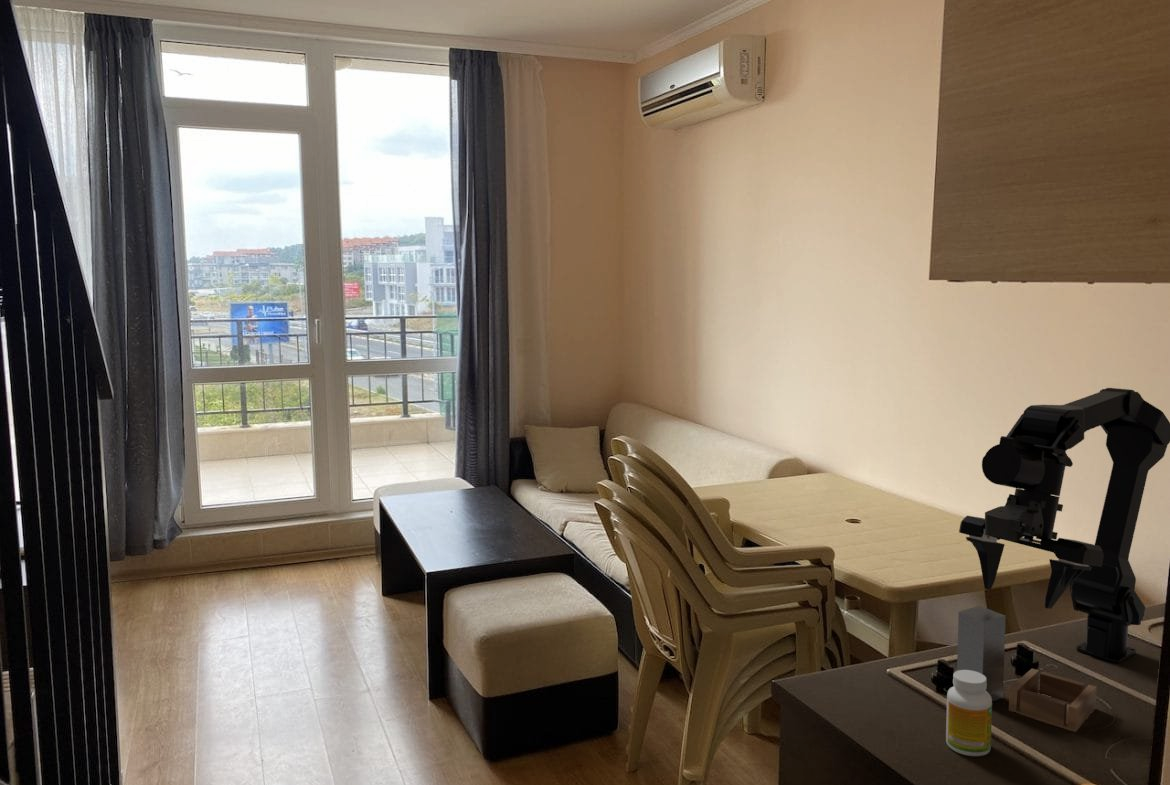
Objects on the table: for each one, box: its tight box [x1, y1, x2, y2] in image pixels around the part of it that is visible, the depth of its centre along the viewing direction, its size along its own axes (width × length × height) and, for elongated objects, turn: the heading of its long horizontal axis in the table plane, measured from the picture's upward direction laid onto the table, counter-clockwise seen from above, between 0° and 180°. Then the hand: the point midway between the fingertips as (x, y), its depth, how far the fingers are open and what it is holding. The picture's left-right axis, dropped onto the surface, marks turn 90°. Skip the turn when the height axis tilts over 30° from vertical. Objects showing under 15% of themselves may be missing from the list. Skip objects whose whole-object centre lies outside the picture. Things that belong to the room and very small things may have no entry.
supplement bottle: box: [945, 670, 993, 757], centre depth 114 cm, size 5×5×10 cm
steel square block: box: [956, 605, 1006, 702], centre depth 127 cm, size 4×4×12 cm
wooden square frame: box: [1008, 668, 1098, 733], centre depth 123 cm, size 9×9×4 cm
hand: (1016, 598), depth 126 cm, fingers open, 9 cm apart
